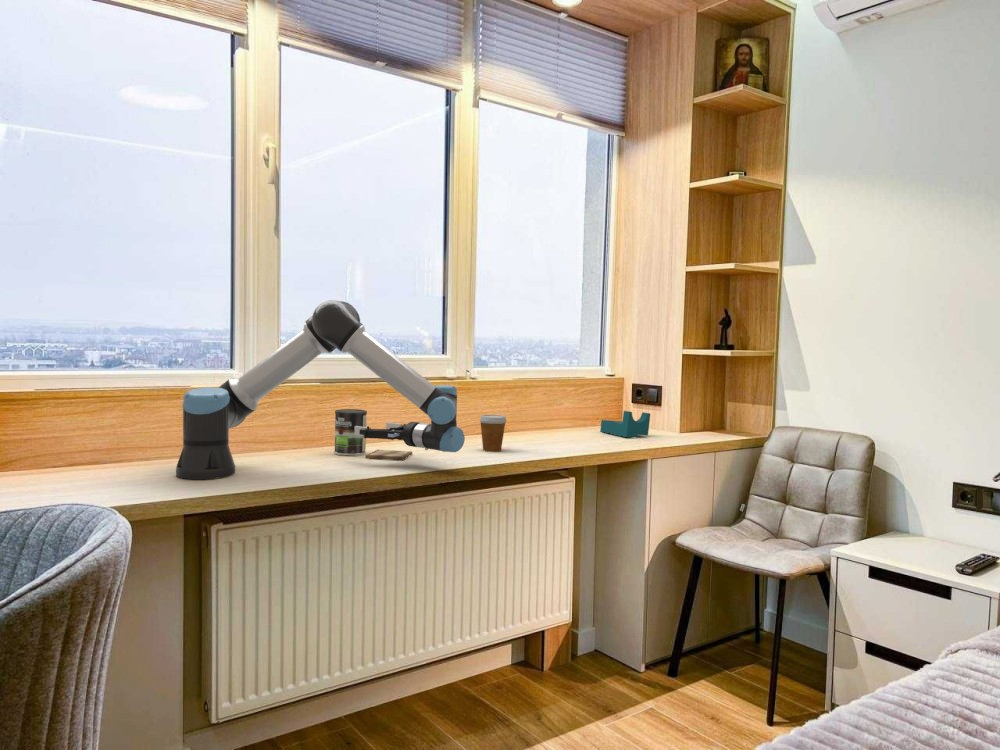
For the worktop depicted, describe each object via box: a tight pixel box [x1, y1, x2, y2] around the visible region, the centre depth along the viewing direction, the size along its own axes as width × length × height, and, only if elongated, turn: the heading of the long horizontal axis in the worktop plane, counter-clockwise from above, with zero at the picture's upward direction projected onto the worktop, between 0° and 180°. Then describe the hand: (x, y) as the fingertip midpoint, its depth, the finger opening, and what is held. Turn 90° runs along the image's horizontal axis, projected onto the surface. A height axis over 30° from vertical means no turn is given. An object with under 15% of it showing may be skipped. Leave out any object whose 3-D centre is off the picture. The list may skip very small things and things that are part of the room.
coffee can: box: [334, 408, 368, 456], centre depth 245 cm, size 10×10×14 cm
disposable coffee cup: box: [478, 414, 508, 452], centre depth 260 cm, size 10×10×12 cm
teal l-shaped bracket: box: [599, 410, 651, 438], centre depth 309 cm, size 18×11×10 cm, turn 28°
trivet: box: [365, 449, 413, 461], centre depth 242 cm, size 12×12×1 cm
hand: (371, 428), depth 239 cm, fingers open, 13 cm apart
